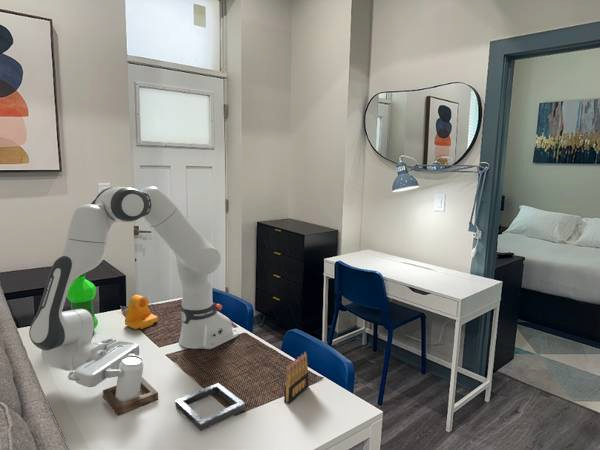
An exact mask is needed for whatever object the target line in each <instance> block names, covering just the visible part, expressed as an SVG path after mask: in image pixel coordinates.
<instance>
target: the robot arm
mask: <svg viewBox="0 0 600 450" xmlns="http://www.w3.org/2000/svg"><path fill="white" fill-rule="evenodd" d="M141 218H142V219H144V220H145V222H146V224H148V225H149V227H150V228H151V229H152V230H153V231H154V232H155V233H156V234H157V235H158V237H159V238H160V239H161V241H163V242H164V244H165V245H166V246H168V247H169V248H170V249H171V250H172V254H173V257H174V259H175V263H176V267H177V273H178V276H179V281H180V289H181V306H180V307H181V308H180V317H181V329H180V335H179V339H178V343H179V346H181V347H184V348H187V349H205V350H211V349H214V348H216V347H218V346H220V345H222V344H224V343H226V342H229V341H231V340H232V339H234V338H237V337H238V336H239V331H238V330H237V329H236V328H235V327H234V326H233V324H232V320H231V319H230V318H229V317H227V316H226V315H224V314H223V313H221V312H220V311H221V310H222V309H223V305H222V304H220V303H215V302H213V284H212V280H211V278H210V276H209V275H210V274H213V273H215V272H216V271H218V270H219V268H220V266H221V262H222V256H221V253H220V252H219V251H218V249H217V248H216V247H214V246H213V245H212V243H211V242H210V241H209V240H208V239H207V238H206V236H204V235H203V233H201V232H200V231H199V230H198V229H197V228H196V227H195V226H194V225H193V224H192V223H191V222H190V221H189V220H188V218H187V217H186V216H185V215H184V214H183V212H182V211H181V210H180V208H178V207H177V205H176V204H175V202H174V201H173V200H171V198H170V197H169V196H168V195H167V194H166V193H165V192H164V191H162V190H161V189H160V188H159V187H156V186H146V187H144V188H142V189H140V190H139V189H137V188H134V187H125V186H115V187H108V188H106V189H104V190H101V191H100V192H99V193H98V195H97V196H96V197H95V199H94V200H92V202H91V203H85V204H82V205H79V206H77V208H75V210H74V212H73V214H72V217H71V220H70V224H69V227H68V231H67V236H66V241H65V245H64V248H63V251H62V252H61V254H60V256H59V257H58V258H57V259H56V260H55V261H54V263H53V264H52V266H51V268H50V271H49V274H48V277H47V280H46V283H45V287H44V290H43V293H42V296H41V300H40V303H39V306H38V310H37V312H36V314H35V316H34V318H33V319H32V321H31V324H30V325H29V326H30V327H29V330H28V331H29V332H28V333H29V334H28V335H29V338H30V341H31V343H32V344H34V346H35V347H37V348H38V349H40V350H41V358H42V360H43V362H44V363H46V364H47V365H49V367H52V368H55V369H57V370H58V369H59V370H61V371H62V370H63V371H68V372H69V373H68V375H67V378H68V380H70V381H73V382H76V384H78V385H80V386H83V387H87V388H95V387H96V386H98V385H99V384H100V383H102V382H103V381H105V380H106V379H110V378H118V377H122V376H123V375H124V371H123V370H122V369H120V368H119V365H120V363H121V362H122V359H123V358H124V357H126V356H140V345H139V344H138V343H137V342H133V341H127V340H117V338H115V337H110V338H107V339H104V340H101V341H94V342H93V343H92V341H93V340H92V339H93V337H94V332H95V329H94V327H95V321H94V318H93V316H92V314H91V313H90V312H89V311H87V310H86V309H75V310H71V309H69V310H65V311H63V309H64V306H65V303H66V299H67V293H68V289H69V287H70V285H71V284H72V283H73V282H74V281H75V280H76V278H77V277H79V276H80V275H82V274H83V273H85V272H86V273H87V272H90V271H91V270H93V269H95V268H96V267H98V266H99V265H100V264H101V263H102V262H103V260H104V257H105V254H106V252H107V245H108V238H109V237H108V236H109V231H110V229H111V228H112V225H113V224H114V223H115V222H116V223H117V222H123V223H124V222H125V223H129V222H135V221H137V220H139V219H141Z"/></svg>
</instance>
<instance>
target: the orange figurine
mask: <svg viewBox="0 0 600 450" xmlns="http://www.w3.org/2000/svg"><path fill="white" fill-rule="evenodd" d="M148 305H149V299H148V298H147V297H145V296H143V295H140V294H134V295H133V296H132V297H131V298H130V301H129V303H128V306H127V311H126V315H125V318H124V325H125V326H127V327H129V328H132V329H134V330H137V329H140V330H143V329H145V328H148V327H150V326H153V325H154V323H156V322H159V321H158V317H159V316H158V315H155V314H153V313H152V312H151V310H150V308H149V307H150V306H148Z"/></svg>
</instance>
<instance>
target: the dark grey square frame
mask: <svg viewBox="0 0 600 450" xmlns="http://www.w3.org/2000/svg"><path fill="white" fill-rule="evenodd" d="M214 393H215V394H218V395H219V396H220V397H221V398H223V399H224V400H226V402H228V403H229V404H230V405H229V406H228V407H226V408H223V409H222V410H221V409H220V411H217V412H214V413H213V414H211V415H209V416H207V417H205V418H202V417H201V416H200V415H199V414H198V413H197V412H196V411H194V409H192V408H191V406H189V405H191V404H194V403H196V402H198V401H200V400H203V399H205V398H207V397H210V396H212V395H215V394H214ZM175 408H176V409H178V411H179V412H180V413H181V414H182V415H184V417H185V418H187V419H188V421H189V422H191V423H192V425H193V426H195V427H196V428H197V429H198V430H199V431H200V432H203V431H204V430H206V429H208V428H211V427H212V426H215V425H216V424H218V423H220V422H223V421H225V420H227V419H229V418H231V417H233V416H235V415H237V414H239V413H240V412H243V411H245V410H246V402H244V401H243V400H241V399H240V398H239V397H237V395H235V394H234V393H232V392H231V391H230V390H229V389H227V388H226V387H224V386H223V385H222V384H220V382H217V383H214V384H211V385H210V386H207V387H204V388H202V389H199V390H197V391H194V392H192V393H189V394H188V395H185V396H183V397H180V398H178V399H176V400H175Z"/></svg>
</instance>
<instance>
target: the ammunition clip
mask: <svg viewBox="0 0 600 450" xmlns="http://www.w3.org/2000/svg"><path fill="white" fill-rule="evenodd" d="M308 365H309V364H308V355H307V352H306V351H304V352H303V353H301V355H300V356H297V358H295V359H294V361H293V360H292V361H291V362H290V363H288V364H287V366H286V367H287V368H286V376H285V385H284V392H283V393H284V395H283V396H284V399H283V400H284V401H283V402H284V403H286V404H292V403H293V402H294V401H295V400H296V399H297V398H298V397H299V396H300V395H302V394H303V393H304V392H305V391H306V390H308V388H309V372H308V369H309V368H308Z"/></svg>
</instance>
